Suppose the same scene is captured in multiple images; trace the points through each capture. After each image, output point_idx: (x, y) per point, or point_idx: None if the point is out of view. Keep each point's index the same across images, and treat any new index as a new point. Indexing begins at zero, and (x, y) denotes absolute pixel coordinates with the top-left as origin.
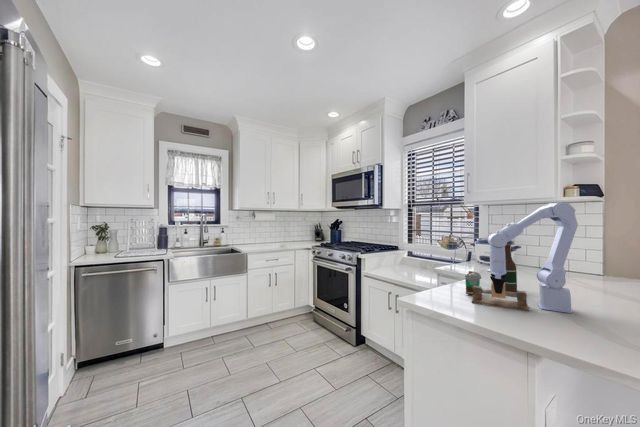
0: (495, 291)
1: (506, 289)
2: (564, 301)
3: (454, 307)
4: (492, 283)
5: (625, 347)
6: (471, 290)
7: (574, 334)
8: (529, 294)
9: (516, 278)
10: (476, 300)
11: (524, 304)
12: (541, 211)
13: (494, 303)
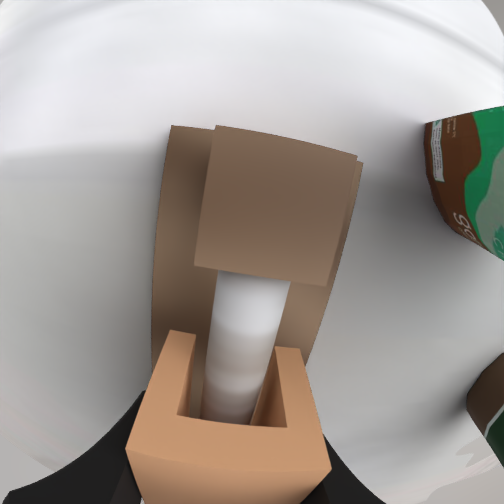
0: (136, 402)
1: (484, 386)
2: None
3: (42, 38)
4: (199, 472)
5: (32, 455)
6: (452, 168)
7: (24, 426)
8: (435, 439)
9: (496, 451)
10: (192, 169)
11: None
12: None
13: (161, 314)
